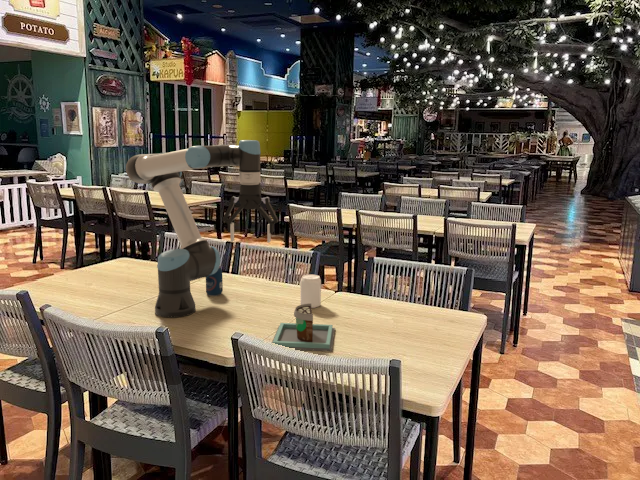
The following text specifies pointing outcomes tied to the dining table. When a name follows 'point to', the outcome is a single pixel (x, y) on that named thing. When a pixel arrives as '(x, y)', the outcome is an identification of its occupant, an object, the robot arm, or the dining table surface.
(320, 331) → the container holder
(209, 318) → the dining table surface
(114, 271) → the dining table surface
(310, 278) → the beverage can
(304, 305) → the food container
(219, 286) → the soda can
